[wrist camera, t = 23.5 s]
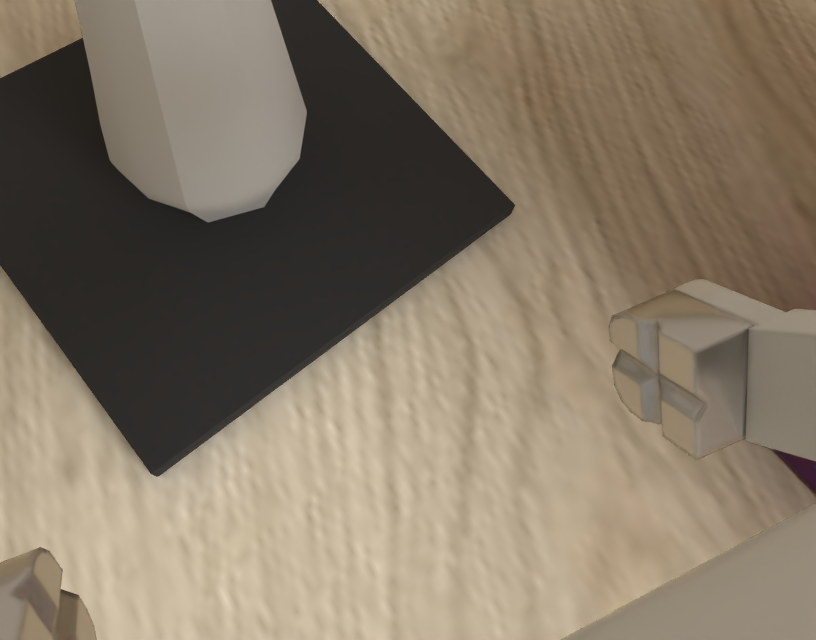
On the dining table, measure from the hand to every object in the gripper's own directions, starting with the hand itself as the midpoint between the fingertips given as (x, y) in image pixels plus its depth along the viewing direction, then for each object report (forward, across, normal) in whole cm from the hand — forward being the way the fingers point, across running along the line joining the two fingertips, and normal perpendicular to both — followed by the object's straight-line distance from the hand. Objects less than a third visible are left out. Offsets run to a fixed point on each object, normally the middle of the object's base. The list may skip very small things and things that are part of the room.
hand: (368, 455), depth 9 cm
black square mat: (+16, 0, -1) cm, 16 cm away
